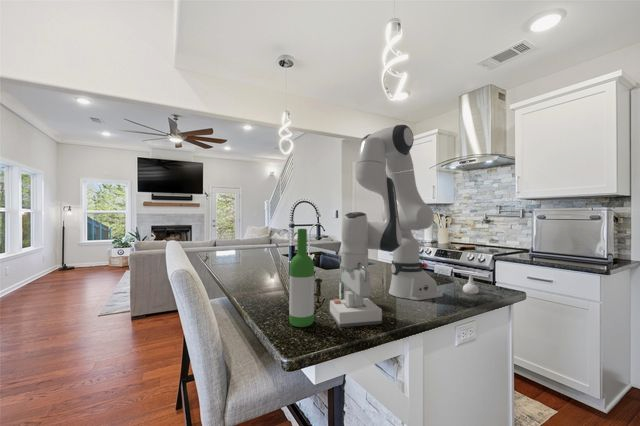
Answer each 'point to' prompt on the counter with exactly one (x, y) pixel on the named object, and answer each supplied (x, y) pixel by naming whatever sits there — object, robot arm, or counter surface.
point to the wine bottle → (301, 285)
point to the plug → (351, 300)
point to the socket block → (355, 313)
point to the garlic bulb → (470, 287)
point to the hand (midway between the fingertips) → (354, 302)
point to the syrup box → (342, 290)
